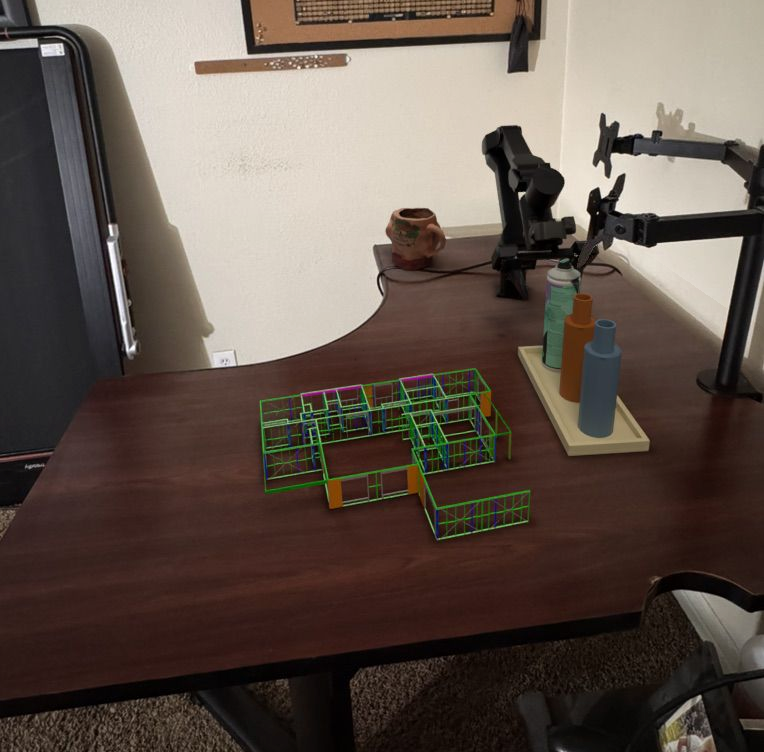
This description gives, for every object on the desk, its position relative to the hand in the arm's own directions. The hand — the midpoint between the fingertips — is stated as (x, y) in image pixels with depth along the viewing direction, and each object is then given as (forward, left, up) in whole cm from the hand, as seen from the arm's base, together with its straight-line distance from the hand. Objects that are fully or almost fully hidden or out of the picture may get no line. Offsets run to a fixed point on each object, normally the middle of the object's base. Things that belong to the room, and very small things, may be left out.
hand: (551, 298), depth 113 cm
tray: (+14, +5, -11) cm, 18 cm away
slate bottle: (+22, +8, -11) cm, 26 cm away
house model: (+37, -19, -11) cm, 44 cm away
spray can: (+5, +2, -11) cm, 12 cm away
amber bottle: (+14, +5, -11) cm, 18 cm away
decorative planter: (-37, -34, -11) cm, 52 cm away
